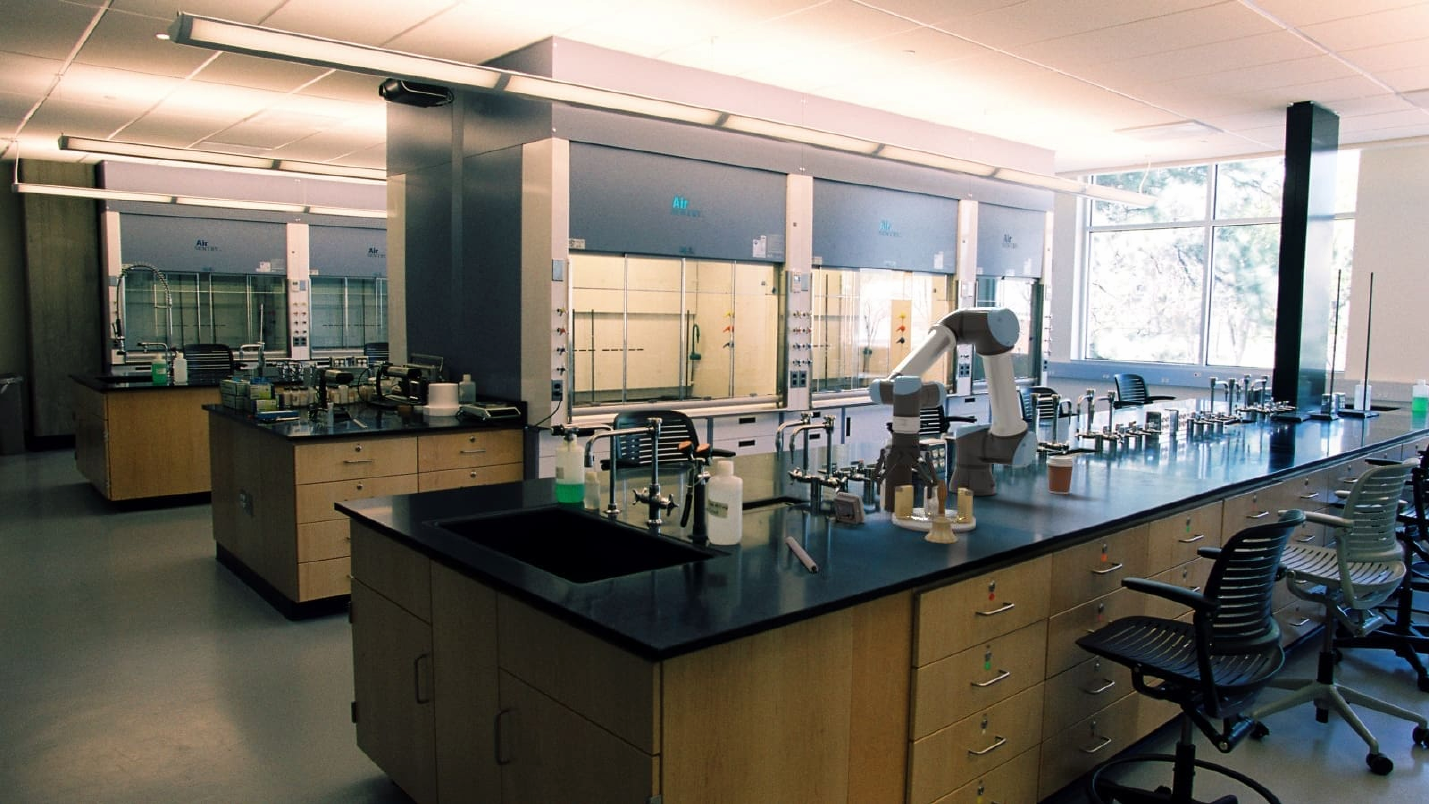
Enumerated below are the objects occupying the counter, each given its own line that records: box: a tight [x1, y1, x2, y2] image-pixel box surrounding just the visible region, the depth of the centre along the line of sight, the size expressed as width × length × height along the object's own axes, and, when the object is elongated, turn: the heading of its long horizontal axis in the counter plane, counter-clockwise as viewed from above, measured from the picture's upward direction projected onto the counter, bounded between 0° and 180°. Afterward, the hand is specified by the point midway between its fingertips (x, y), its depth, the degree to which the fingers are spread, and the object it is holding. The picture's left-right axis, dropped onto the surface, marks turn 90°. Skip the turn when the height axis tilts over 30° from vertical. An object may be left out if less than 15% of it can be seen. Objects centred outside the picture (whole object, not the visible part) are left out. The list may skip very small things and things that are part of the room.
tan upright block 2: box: [956, 488, 974, 523], centre depth 248 cm, size 6×4×9 cm
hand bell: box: [924, 478, 958, 545], centre depth 236 cm, size 8×8×16 cm
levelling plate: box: [891, 486, 977, 534], centre depth 255 cm, size 23×23×11 cm
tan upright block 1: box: [895, 485, 915, 519], centre depth 252 cm, size 6×4×9 cm
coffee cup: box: [1045, 455, 1076, 495], centre depth 304 cm, size 9×9×12 cm
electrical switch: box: [833, 491, 866, 525], centre depth 257 cm, size 8×5×8 cm, turn 44°
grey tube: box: [785, 536, 819, 573], centre depth 218 cm, size 2×27×2 cm, turn 7°
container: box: [883, 443, 913, 513], centre depth 273 cm, size 9×9×20 cm
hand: (903, 508), depth 253 cm, fingers open, 12 cm apart
